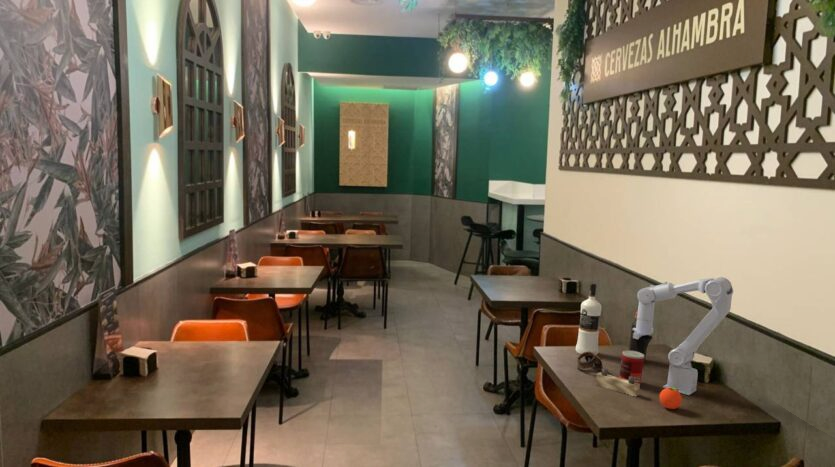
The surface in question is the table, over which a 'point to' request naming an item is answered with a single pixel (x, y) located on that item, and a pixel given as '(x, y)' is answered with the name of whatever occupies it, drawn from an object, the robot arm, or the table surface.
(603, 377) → the maple stop bar
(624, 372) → the canned food
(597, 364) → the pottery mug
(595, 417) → the table surface
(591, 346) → the vodka
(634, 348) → the bottle
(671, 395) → the clementine
